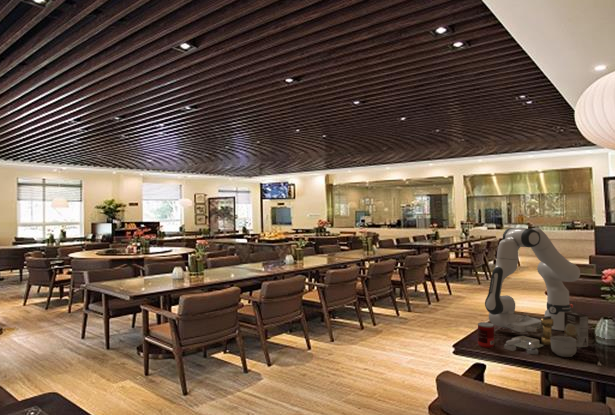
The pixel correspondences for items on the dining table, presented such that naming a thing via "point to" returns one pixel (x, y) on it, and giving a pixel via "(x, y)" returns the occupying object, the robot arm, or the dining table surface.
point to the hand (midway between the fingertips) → (541, 328)
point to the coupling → (546, 330)
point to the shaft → (531, 348)
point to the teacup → (563, 346)
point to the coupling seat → (521, 343)
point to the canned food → (486, 334)
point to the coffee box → (576, 327)
